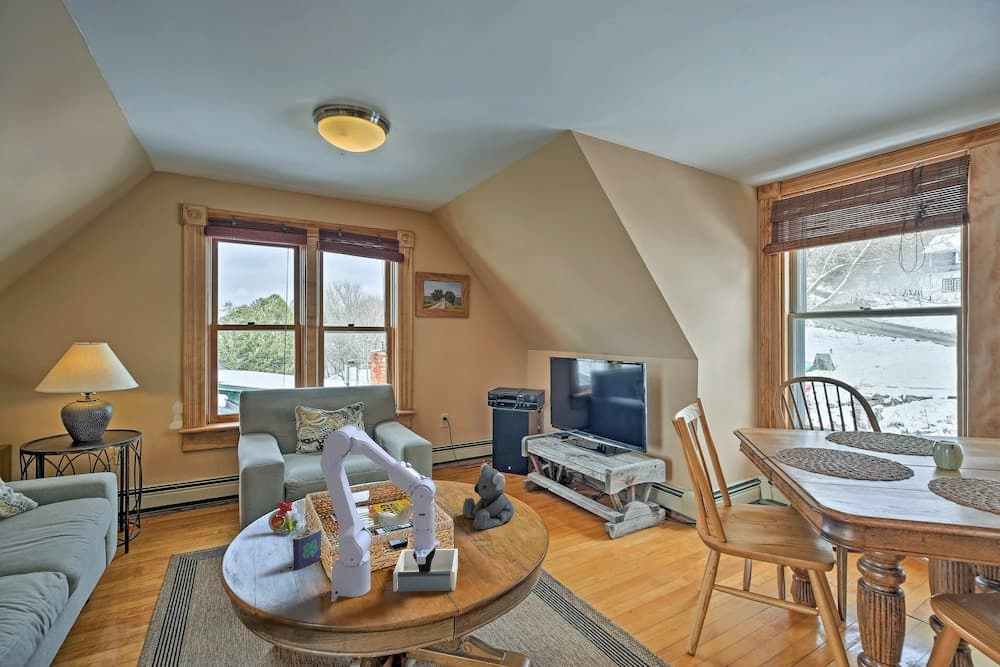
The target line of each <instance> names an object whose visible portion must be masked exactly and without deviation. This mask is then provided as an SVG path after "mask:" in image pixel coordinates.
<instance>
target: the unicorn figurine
mask: <svg viewBox="0 0 1000 667" xmlns="http://www.w3.org/2000/svg"><path fill="white" fill-rule="evenodd" d="M412 515H413V503H410V504H408V505H406V506H404V507H403V508H402V509H401V510H399V512H398V513H396V514H395V513H392V512H390V511H384V512H380V511H379V510H377V511H375V513H373V516H372V520H373V525H378V524H379V526H385V525H404V524H408V523H409V524H410V518H411V516H412Z"/></svg>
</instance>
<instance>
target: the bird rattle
mask: <svg viewBox="0 0 1000 667" xmlns="http://www.w3.org/2000/svg"><path fill="white" fill-rule="evenodd" d="M276 506H277V508H278V510H275V511H274V512H273V513H271V514H270V515H269V517H268V526H269V529H271V531H272V533H273V534H275V535H276V534H277V533H282V532H284V531H285V530H287V535H290V534H291V532H292V528H296V527H297V523H298V524H299V520H298V519H293V520H291V516H290V513H288V512H292V511H293V507H292V506H293V501H291V502H285V501H283V502H277V503H276Z"/></svg>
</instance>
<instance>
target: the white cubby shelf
mask: <svg viewBox="0 0 1000 667" xmlns="http://www.w3.org/2000/svg"><path fill="white" fill-rule="evenodd" d="M413 553H414V549H413V548H412V549H411V548H410V549H402V550H401V553H400V555H399V557H398V560H397V563H396V566H395V567H394V569H393V570H394V571H393V573H392V574H393V577H392V578H393V579H392V580H393V582H392V583H393V584H392V588H393V589H392V592H395V593H396V592H398V572H419V568H418V565H417V562H416V560H415V559H414V557H413ZM458 566H459V549H458V548H436V551H435V555H434V557H433V559H432V562H431V569H430V571H450V589H451V591H453V592H454V591H456V584H457V577H458V576H457V574H458Z"/></svg>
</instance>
